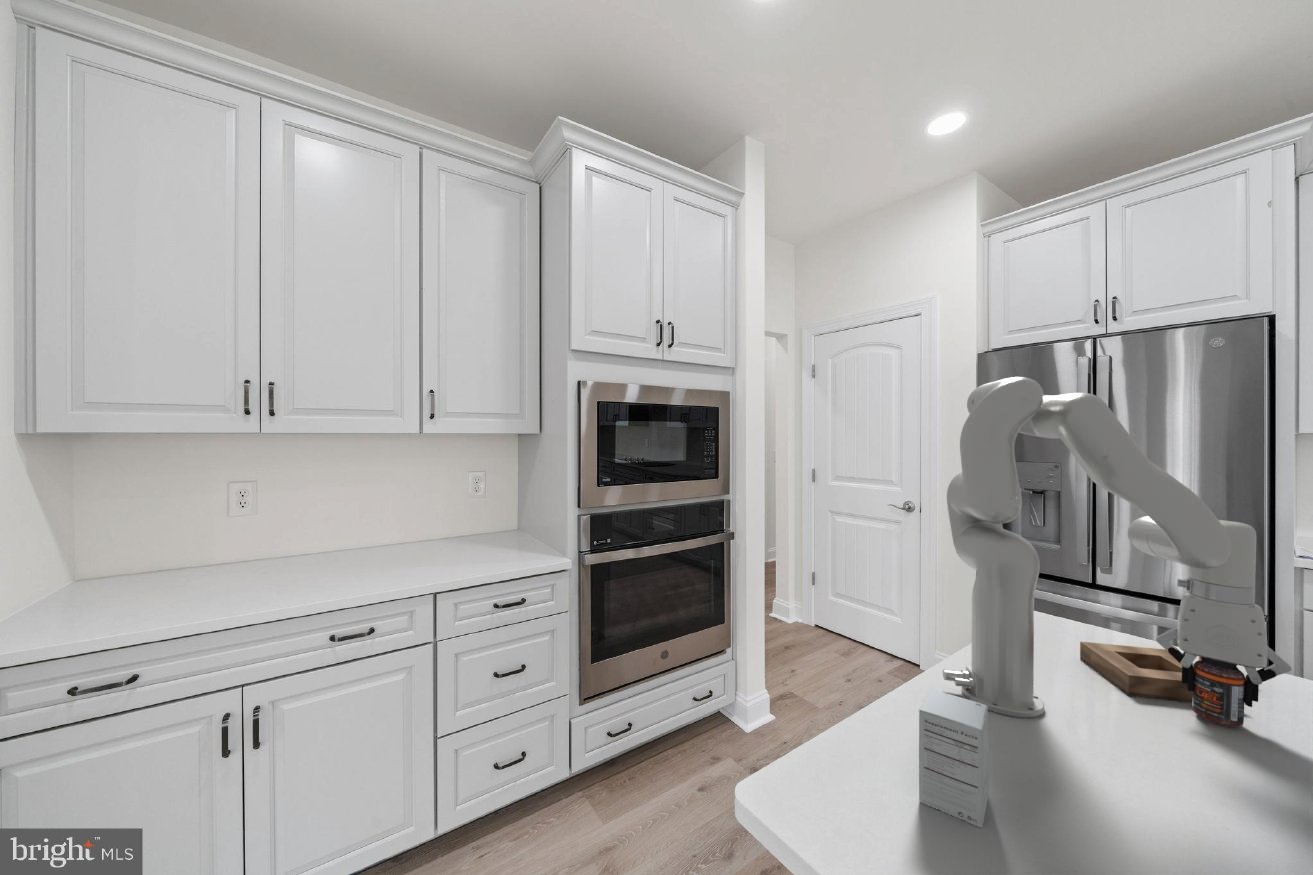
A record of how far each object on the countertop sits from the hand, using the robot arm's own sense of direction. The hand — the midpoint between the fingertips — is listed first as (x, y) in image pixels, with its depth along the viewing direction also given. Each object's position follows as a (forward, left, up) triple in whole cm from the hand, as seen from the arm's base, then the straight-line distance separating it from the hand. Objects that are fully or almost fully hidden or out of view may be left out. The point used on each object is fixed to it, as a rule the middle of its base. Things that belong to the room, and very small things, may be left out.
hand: (1218, 694), depth 85 cm
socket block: (-1, +14, -5) cm, 15 cm away
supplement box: (-50, -33, -5) cm, 60 cm away
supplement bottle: (0, 0, -4) cm, 4 cm away
